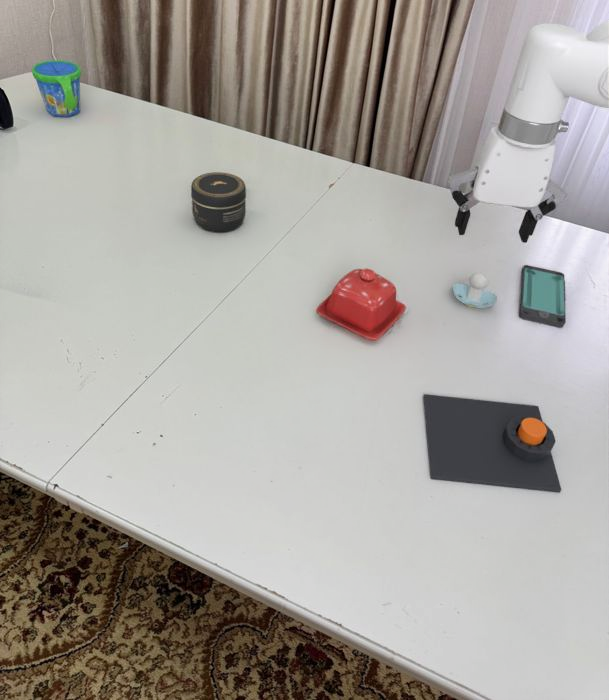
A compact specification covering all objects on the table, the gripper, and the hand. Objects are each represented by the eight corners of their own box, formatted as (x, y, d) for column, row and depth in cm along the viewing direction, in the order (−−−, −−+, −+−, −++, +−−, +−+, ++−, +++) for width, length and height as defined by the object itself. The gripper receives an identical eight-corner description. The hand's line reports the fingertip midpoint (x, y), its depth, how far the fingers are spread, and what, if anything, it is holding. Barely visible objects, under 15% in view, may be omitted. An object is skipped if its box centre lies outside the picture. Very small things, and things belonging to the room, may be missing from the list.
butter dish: (408, 311, 101) (418, 268, 95) (374, 348, 94) (382, 304, 88) (348, 284, 105) (355, 241, 100) (311, 318, 98) (315, 273, 92)
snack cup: (94, 122, 146) (87, 77, 139) (47, 127, 142) (37, 81, 135) (79, 97, 156) (72, 55, 149) (35, 102, 152) (26, 58, 145)
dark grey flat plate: (537, 409, 87) (543, 397, 85) (560, 493, 76) (567, 481, 75) (422, 397, 87) (426, 384, 85) (430, 479, 77) (434, 467, 75)
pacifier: (454, 285, 108) (447, 303, 103) (463, 254, 104) (456, 272, 99) (496, 297, 106) (491, 316, 102) (507, 266, 102) (502, 285, 98)
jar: (182, 217, 118) (179, 180, 112) (225, 202, 123) (224, 166, 118) (213, 240, 112) (211, 203, 107) (256, 224, 118) (257, 187, 112)
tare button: (539, 427, 81) (544, 418, 80) (544, 446, 79) (549, 437, 78) (515, 425, 81) (519, 416, 80) (519, 444, 79) (524, 435, 78)
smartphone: (521, 312, 101) (524, 263, 112) (518, 318, 102) (521, 268, 113) (567, 323, 100) (566, 272, 111) (564, 329, 101) (563, 278, 111)
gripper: (583, 122, 87) (541, 228, 99) (461, 108, 87) (433, 215, 99) (598, 145, 82) (552, 254, 93) (467, 130, 82) (437, 241, 93)
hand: (491, 234), depth 96 cm, fingers open, 9 cm apart
